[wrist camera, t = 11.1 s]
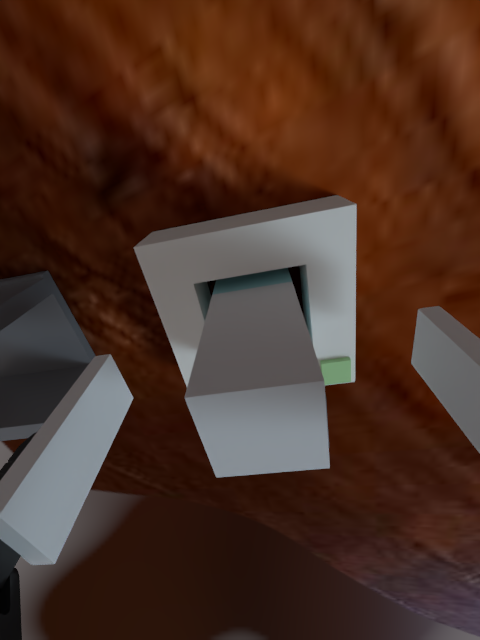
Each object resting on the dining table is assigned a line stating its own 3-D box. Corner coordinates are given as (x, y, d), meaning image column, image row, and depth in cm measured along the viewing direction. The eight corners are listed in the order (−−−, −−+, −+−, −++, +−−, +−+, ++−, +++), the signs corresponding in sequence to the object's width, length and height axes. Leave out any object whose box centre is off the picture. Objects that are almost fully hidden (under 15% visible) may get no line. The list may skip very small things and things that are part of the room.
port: (152, 232, 16) (130, 249, 13) (337, 194, 15) (358, 205, 12) (199, 370, 21) (191, 404, 18) (341, 351, 20) (356, 385, 17)
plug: (217, 273, 17) (182, 397, 8) (286, 260, 16) (325, 380, 8) (231, 329, 19) (214, 477, 10) (293, 320, 18) (331, 467, 10)
